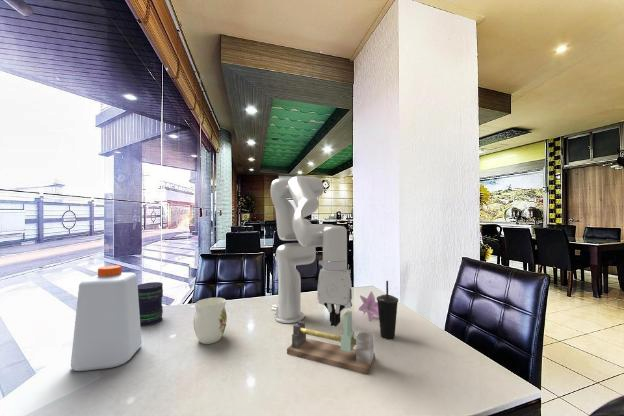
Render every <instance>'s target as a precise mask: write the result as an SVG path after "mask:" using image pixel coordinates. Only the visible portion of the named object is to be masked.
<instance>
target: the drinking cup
mask: <svg viewBox="0 0 624 416" xmlns="http://www.w3.org/2000/svg"><path fill="white" fill-rule="evenodd" d="M385 288H386V289H385V292H386V294H381V295H379V296H377V297H376V302H378V312H379V317H378V321H379V322H378V323H379V331H380V337H381V338H382V339H383V340H387V341H388V340H394V339H395V334H396V324H397V315H398V314H397V313H398V304H399V298H398V297H396V296H393V295H392V294H389V280H386V282H385Z"/></svg>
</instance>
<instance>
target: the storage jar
mask: <svg viewBox="0 0 624 416" xmlns="http://www.w3.org/2000/svg"><path fill="white" fill-rule="evenodd" d="M137 285H138V300H139V314H140V327H148V326H152V325H156V324H159V323H160V322H162V321H163V312H164V310H163V296H164V294H163V292H164V290H163V288H164V287H163V282H160V281H159V282H158V281H154V282H152V281H151V282H145V283H141V284H137Z"/></svg>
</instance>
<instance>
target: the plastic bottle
mask: <svg viewBox="0 0 624 416" xmlns="http://www.w3.org/2000/svg"><path fill="white" fill-rule="evenodd" d="M138 285H139V284H138V276H137V274H136V273H135V272H123V266H122V265H106V266H101V267H98V268H97V275H94V276H91V277H88V278H86V279H84V280H82V281H81V282H80V283H79V284H78V293H77V302H76V311H75V320H74V327H73V328H74V330H73V339H72V351H71V356H70V357H71V359H70V368H71V369H72V370H73V371H76V372H85V371H94V370H95V371H96V370H102V369H103V370H104V369H111V368H116V367H119V366H122V365H123V364H126V363H127V362H128V361H130V359H132V357H133V356H134V355H135V354H136V352H138V351H139V349H140V347H141V346H142V330H141V329H142V328H141V326H140V314H139V300H138Z"/></svg>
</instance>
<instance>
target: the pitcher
mask: <svg viewBox="0 0 624 416" xmlns="http://www.w3.org/2000/svg"><path fill="white" fill-rule="evenodd" d="M226 302H227V301H226V299H225V298H223V297H207V298H203V299H200V300H198V301H196V302H195V303H194V306H195V313H194V316H193V330H194V333H195V336H196V338H197V340H199V342H200V343H201V344H203V345H204V344H205V345H208V344H209V345H211V344H214V343H217V342H218V341H220V340H221V338H222V337H223V334H224V333H225V330H226V327H227V320H228V317H227V315H228V314H227V312H226V311H227V310H226Z"/></svg>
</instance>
